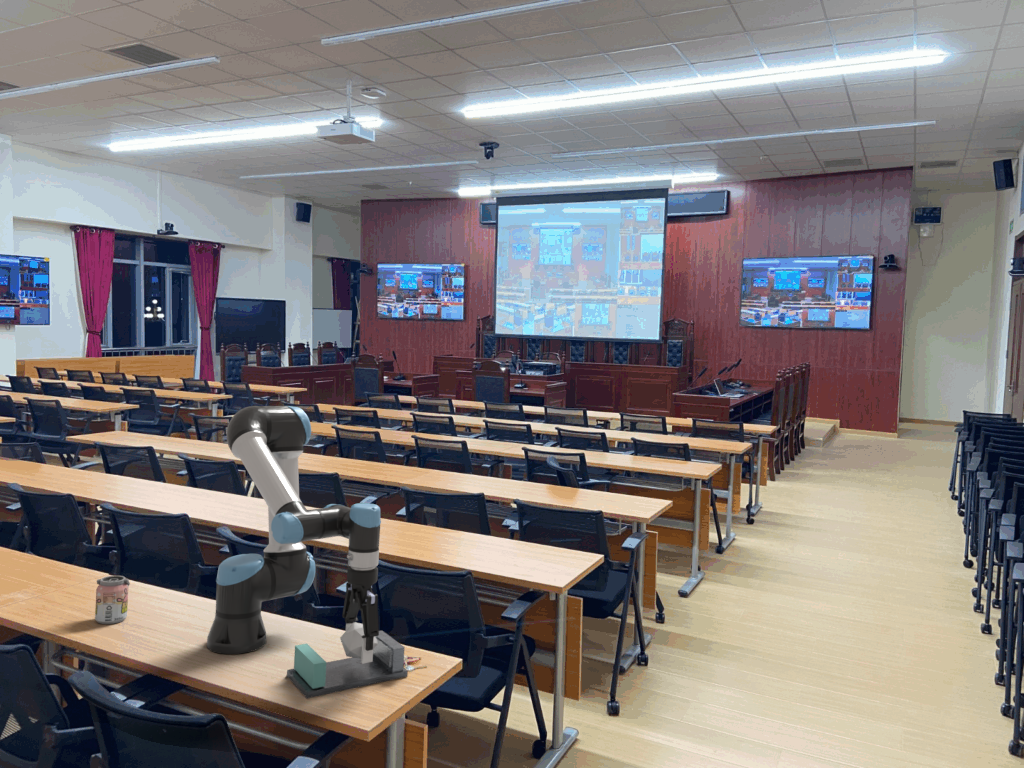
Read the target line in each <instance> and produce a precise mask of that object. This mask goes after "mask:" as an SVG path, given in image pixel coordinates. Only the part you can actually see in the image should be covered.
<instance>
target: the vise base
mask: <svg viewBox="0 0 1024 768" xmlns="http://www.w3.org/2000/svg"><path fill="white" fill-rule="evenodd" d="M376 639H377V642H378V644H377V645H376V647H375V648H374V649H373V662H369V663H364V664H362V663H361V659H359V658H353V657H346V658H342V659H338V660H333V661H332V660H331V661H326V679H325V686H323V687H319V688H314V689H313V688H312V687H311V686H310V685H309V684H308V683H307V682H306V681H305V680H304V679H303V678H302V677H301V676H300V674H299V673H298V672H297V671H296V670H295V669H294V668H290V669H287V670H286V677H287V678H288V680H290V682H291V683H293V685H294V686H295V687H296V688H297V689H298V690H299V691H300V693H301V694H302V695H303V696H304V697H305V698H306V699H311V698H316V697H320V696H321V697H322V696H324V695H329V694H334V693H338V692H342V691H343V692H344V691H349V690H353V689H356V688H363V687H366V686H371V685H374V684H380V683H384V682H388V681H394V680H398V679H399V680H400V679H402V678H407V677H408V675H409V673H408V671H409V670H408V669H406V668H405V667H404V666H405V664H404V663H405V662H404V661H405V646H404V645H403V644H401V643H400V642H398V641H397V640H396V639H394V638H393V637H392V636H391V635H389V634H388V633H387V632H385V631H383V630H379V635H378V636H376Z"/></svg>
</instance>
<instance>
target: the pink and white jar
mask: <svg viewBox="0 0 1024 768" xmlns="http://www.w3.org/2000/svg"><path fill="white" fill-rule="evenodd" d="M96 584H97V585H98V586H97V587H96V591H95V612H94V613H95V614H94V619H95V621H96V622H97V623H98V624H100V625H114V624H118V623H121V622H123V621H125V620H126V618H127V617H128V603H129V586H130V585H131V583H130V580H129V578H127V577H125V576H124V575H108V576H104V577H101V578H97V579H96Z"/></svg>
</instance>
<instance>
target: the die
mask: <svg viewBox="0 0 1024 768" xmlns="http://www.w3.org/2000/svg"><path fill="white" fill-rule="evenodd" d="M355 622H356V621H354V622H353V624H352V625H351V626H350V627H349V628H348V629H347V630H346V629H345V632H344V633H343V634H342V635H341V636H340V637H339V639H340V642H341V644H342V647H343V648H342V649H343V650H344V653H345V656H346V657H347V658H352V657H353V658H359V659H361V653H362V636H363V635H364V630H363V623H360V622H357V623H355ZM377 644H378V642H377V639H376V636H374V642H373V649H374V648H375V647H376V645H377Z"/></svg>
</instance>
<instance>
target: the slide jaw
mask: <svg viewBox="0 0 1024 768" xmlns="http://www.w3.org/2000/svg"><path fill="white" fill-rule="evenodd" d="M293 657H294V659H293V669H295V670H296V671H297V672H298V673H299V674H300V676H301V677H302V678H303V679H304V680H305V681H306V682H307V683H308V684H309V685H310V686H311V687H312V688H313V689H314V688H319V687H323V686H325V679H326V662H327V661H326V660H325V658H323V657H322V656H321V655H320V654H319V653H318V652H316V650H314V649H313V648H312V647H311V646H310V644H308V643H303V644H302V643H301V644H296V645H294V655H293Z"/></svg>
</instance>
